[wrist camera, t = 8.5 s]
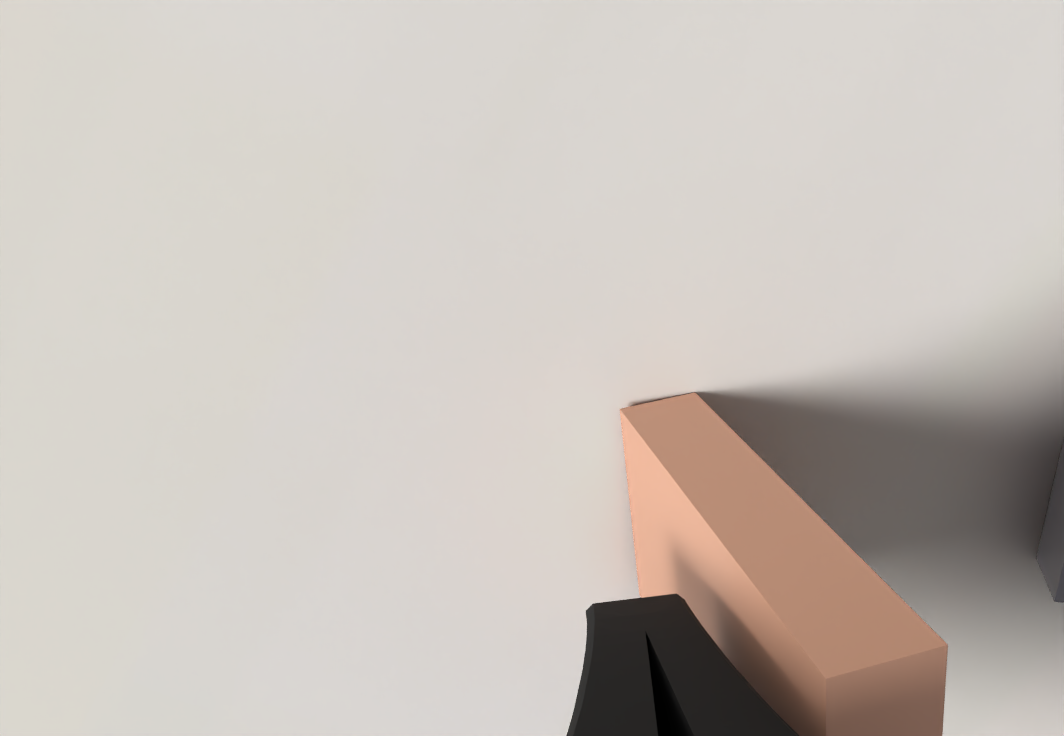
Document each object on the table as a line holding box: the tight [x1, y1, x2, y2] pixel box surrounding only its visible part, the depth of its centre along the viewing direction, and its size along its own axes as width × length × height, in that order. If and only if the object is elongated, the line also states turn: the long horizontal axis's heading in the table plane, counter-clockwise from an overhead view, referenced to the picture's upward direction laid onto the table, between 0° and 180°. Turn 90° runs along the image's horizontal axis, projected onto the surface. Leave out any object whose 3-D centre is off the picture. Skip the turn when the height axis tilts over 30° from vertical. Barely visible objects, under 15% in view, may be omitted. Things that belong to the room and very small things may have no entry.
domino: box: [620, 392, 948, 736], centre depth 13 cm, size 4×1×7 cm, turn 8°
